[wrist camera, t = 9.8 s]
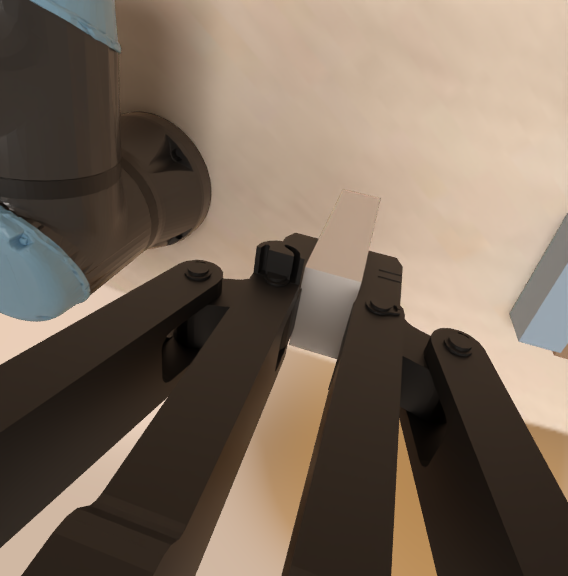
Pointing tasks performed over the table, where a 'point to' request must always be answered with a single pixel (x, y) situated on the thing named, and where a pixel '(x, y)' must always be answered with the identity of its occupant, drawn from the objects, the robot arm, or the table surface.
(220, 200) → the table surface
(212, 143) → the table surface
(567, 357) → the dock
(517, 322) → the tee block
